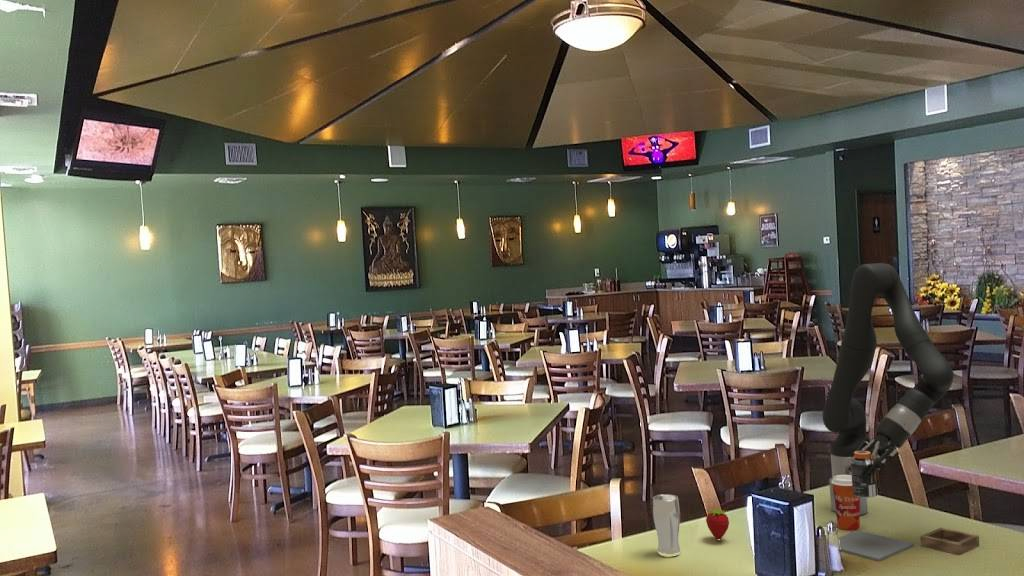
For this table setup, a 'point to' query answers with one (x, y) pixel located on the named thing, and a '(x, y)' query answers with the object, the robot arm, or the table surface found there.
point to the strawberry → (717, 523)
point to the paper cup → (846, 503)
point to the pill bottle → (858, 482)
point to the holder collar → (962, 539)
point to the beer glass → (667, 522)
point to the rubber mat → (872, 545)
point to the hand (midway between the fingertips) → (857, 474)
